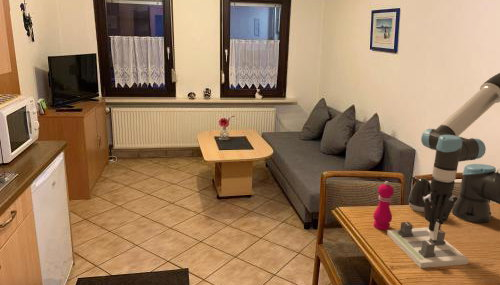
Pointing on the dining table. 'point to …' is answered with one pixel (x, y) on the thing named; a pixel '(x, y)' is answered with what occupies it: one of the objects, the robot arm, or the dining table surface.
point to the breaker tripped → (439, 238)
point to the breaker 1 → (405, 229)
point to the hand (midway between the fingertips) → (432, 238)
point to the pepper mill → (383, 207)
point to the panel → (413, 244)
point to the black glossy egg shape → (419, 194)
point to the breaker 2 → (427, 249)
